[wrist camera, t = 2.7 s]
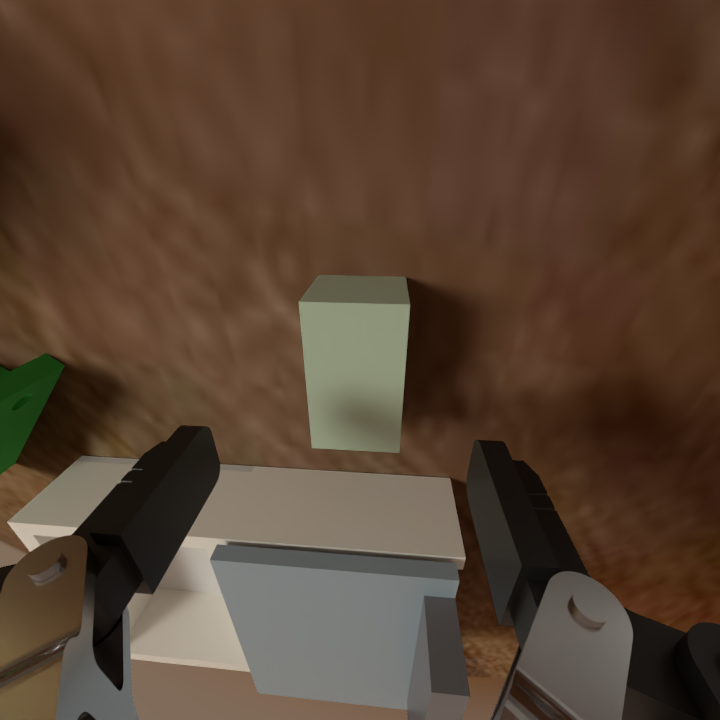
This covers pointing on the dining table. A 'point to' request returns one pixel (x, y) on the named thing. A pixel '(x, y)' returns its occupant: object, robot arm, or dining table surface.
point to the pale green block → (355, 360)
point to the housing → (252, 539)
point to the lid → (348, 628)
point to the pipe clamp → (23, 403)
